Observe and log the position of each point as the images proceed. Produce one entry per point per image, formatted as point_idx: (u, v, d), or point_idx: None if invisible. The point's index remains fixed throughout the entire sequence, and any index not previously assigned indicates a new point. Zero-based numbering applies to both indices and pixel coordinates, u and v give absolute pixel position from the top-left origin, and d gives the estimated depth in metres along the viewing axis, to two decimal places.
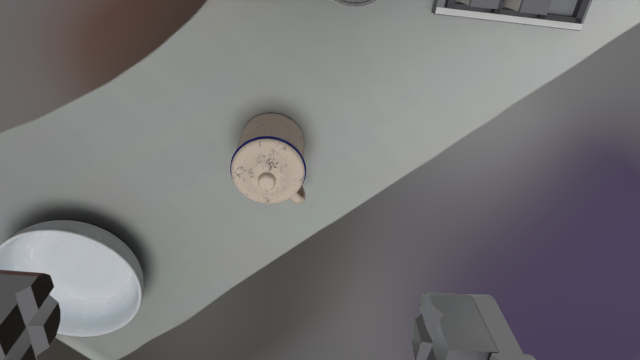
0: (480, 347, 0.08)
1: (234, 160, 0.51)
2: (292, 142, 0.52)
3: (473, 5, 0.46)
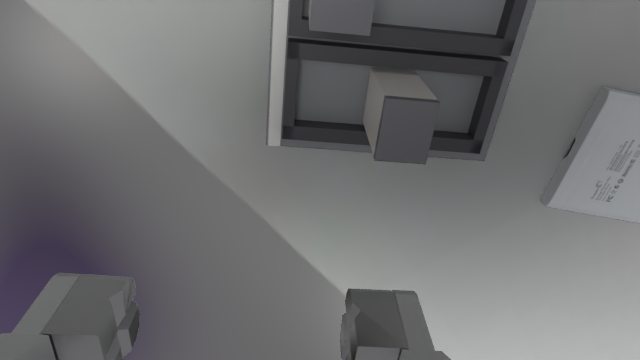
0: (391, 343, 0.08)
1: None
2: None
3: None
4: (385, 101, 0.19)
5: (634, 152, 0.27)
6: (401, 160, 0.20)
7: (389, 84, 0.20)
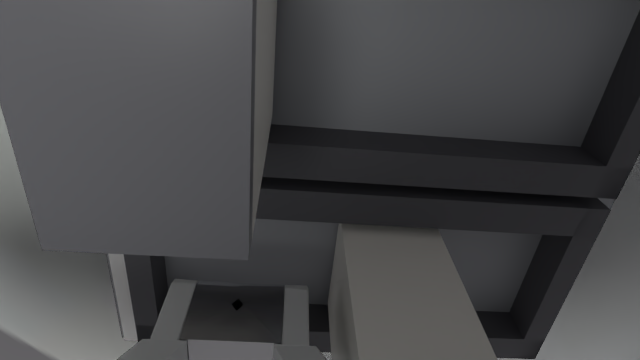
0: (265, 338, 0.08)
1: None
2: None
3: None
4: None
5: None
6: None
7: (376, 294, 0.08)
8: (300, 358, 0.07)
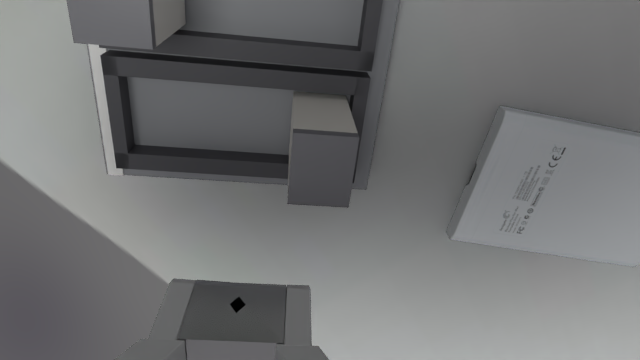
0: (268, 338, 0.08)
1: None
2: None
3: None
4: (292, 136, 0.16)
5: (542, 180, 0.24)
6: (319, 203, 0.17)
7: (305, 113, 0.17)
8: (302, 358, 0.07)
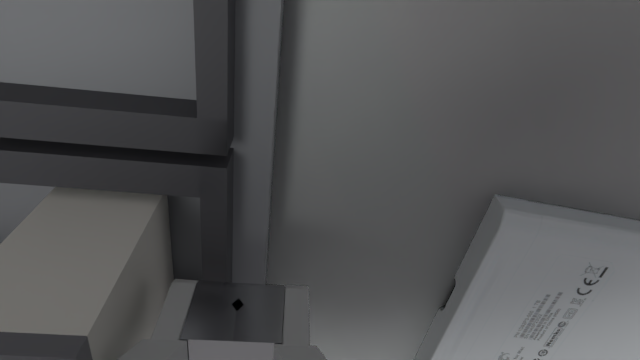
0: (266, 338, 0.08)
1: None
2: None
3: None
4: None
5: (565, 312, 0.14)
6: None
7: (20, 255, 0.08)
8: (300, 358, 0.07)
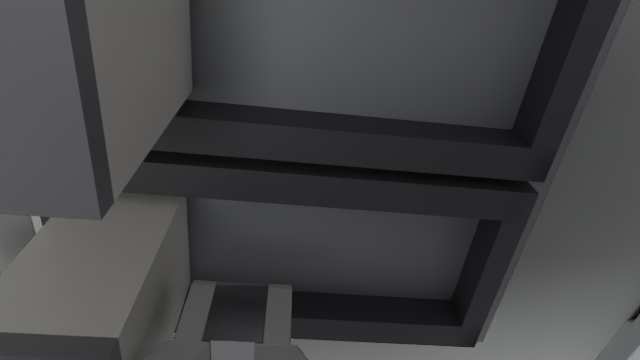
0: (246, 337, 0.08)
1: None
2: None
3: None
4: None
5: None
6: None
7: (45, 257, 0.08)
8: (280, 357, 0.07)
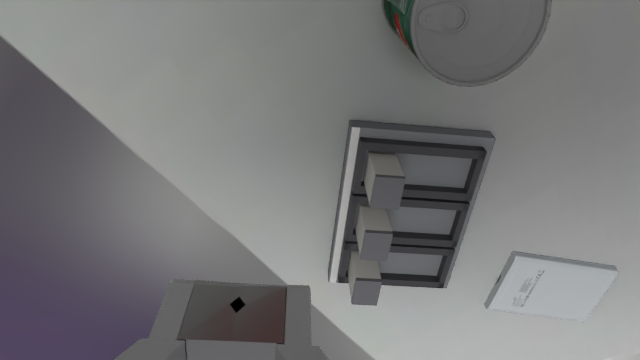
0: (268, 338, 0.08)
1: None
2: None
3: (376, 180, 0.34)
4: (355, 281, 0.40)
5: (533, 283, 0.48)
6: (364, 304, 0.41)
7: (359, 265, 0.42)
8: (302, 358, 0.07)
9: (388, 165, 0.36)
